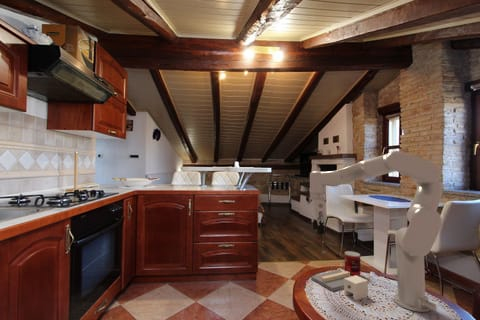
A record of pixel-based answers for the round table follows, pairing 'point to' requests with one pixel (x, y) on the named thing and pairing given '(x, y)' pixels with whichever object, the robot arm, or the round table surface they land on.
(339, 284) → the mount board
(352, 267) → the canned food
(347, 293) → the cabinet block
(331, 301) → the round table surface
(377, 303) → the round table surface
